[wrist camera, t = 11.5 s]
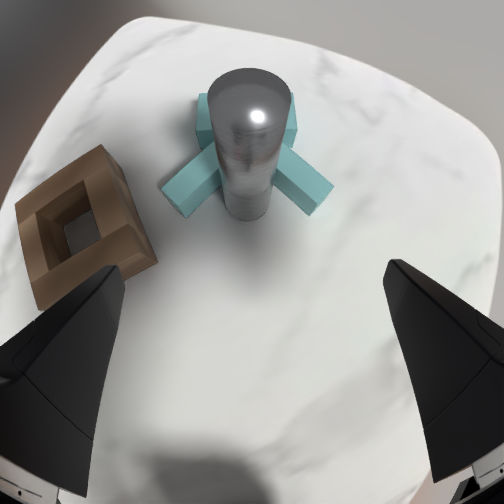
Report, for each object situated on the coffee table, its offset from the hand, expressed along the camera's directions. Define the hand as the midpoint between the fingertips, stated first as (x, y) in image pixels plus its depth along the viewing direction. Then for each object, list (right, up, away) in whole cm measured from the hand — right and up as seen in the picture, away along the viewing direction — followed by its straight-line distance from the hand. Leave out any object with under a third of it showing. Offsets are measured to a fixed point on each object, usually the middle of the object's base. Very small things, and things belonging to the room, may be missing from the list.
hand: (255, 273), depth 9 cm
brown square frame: (-14, +2, +14) cm, 20 cm away
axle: (-1, +5, +15) cm, 15 cm away
